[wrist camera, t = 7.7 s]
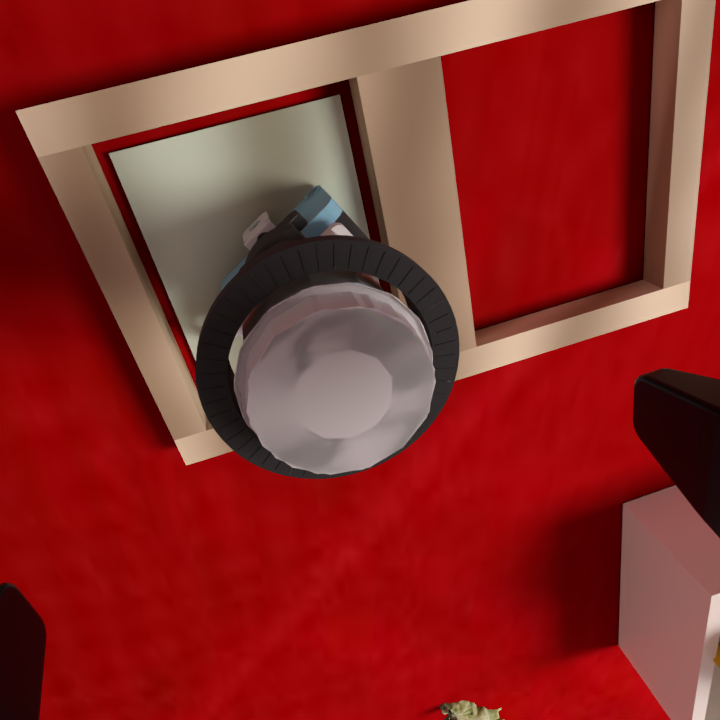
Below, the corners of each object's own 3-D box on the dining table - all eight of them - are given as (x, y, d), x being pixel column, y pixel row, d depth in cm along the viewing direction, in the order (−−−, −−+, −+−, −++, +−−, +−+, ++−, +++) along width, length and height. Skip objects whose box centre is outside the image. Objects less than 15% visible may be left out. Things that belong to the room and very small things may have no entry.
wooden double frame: (691, -53, 18) (721, -61, 16) (667, 297, 24) (688, 307, 22) (28, 108, 15) (15, 110, 14) (187, 446, 22) (185, 465, 20)
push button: (261, 374, 21) (292, 586, 12) (143, 279, 18) (74, 461, 9) (391, 250, 20) (529, 385, 11) (286, 132, 17) (354, 184, 8)
